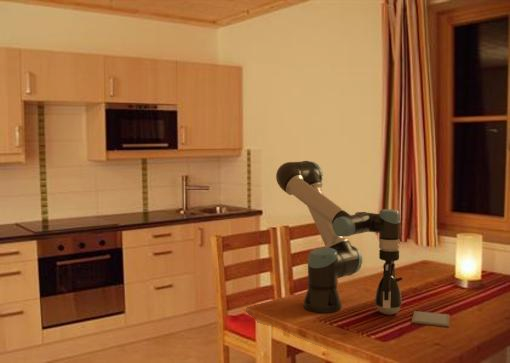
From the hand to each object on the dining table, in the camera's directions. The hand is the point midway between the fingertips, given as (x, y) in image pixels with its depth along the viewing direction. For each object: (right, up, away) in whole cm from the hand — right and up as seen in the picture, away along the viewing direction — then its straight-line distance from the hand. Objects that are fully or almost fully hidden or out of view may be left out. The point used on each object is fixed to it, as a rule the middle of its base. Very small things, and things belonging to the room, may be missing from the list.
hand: (388, 302), depth 213 cm
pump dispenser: (0, -4, 0) cm, 4 cm away
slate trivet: (+14, -4, -8) cm, 17 cm away
